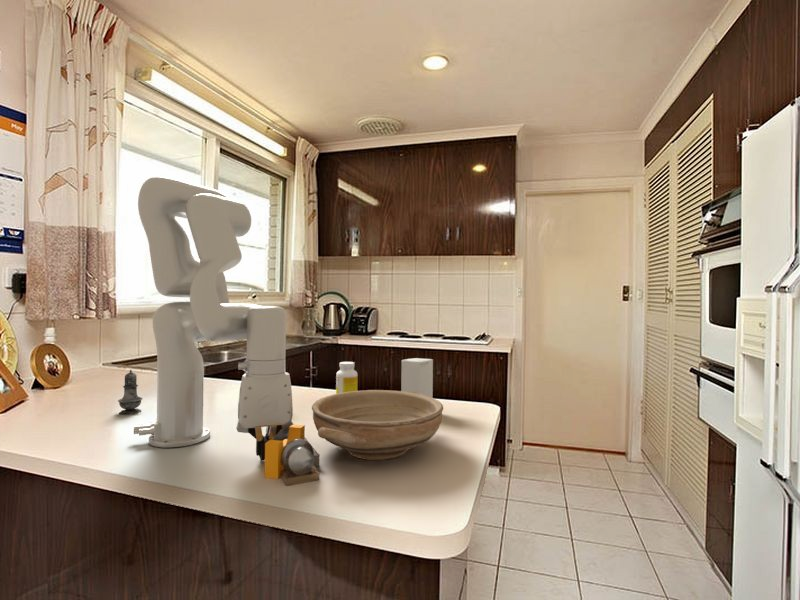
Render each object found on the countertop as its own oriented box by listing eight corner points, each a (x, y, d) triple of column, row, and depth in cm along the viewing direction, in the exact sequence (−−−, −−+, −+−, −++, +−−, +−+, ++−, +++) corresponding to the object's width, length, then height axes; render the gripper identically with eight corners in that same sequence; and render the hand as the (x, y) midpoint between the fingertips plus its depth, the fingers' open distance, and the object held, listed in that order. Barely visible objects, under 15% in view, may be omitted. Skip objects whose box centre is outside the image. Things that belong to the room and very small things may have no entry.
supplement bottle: (361, 403, 135) (362, 362, 135) (348, 407, 129) (348, 365, 129) (345, 400, 138) (345, 360, 138) (331, 404, 133) (331, 363, 133)
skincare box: (418, 418, 119) (419, 362, 119) (398, 414, 123) (399, 359, 123) (433, 411, 126) (434, 358, 126) (414, 408, 130) (415, 356, 129)
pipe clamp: (285, 454, 91) (285, 423, 91) (304, 455, 90) (304, 425, 90) (255, 477, 79) (256, 442, 79) (277, 479, 78) (278, 444, 78)
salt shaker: (112, 413, 119) (113, 370, 119) (132, 408, 125) (133, 367, 125) (127, 415, 117) (127, 372, 117) (147, 410, 123) (147, 368, 122)
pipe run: (285, 485, 75) (286, 449, 75) (263, 441, 98) (263, 413, 98) (327, 478, 79) (327, 443, 79) (295, 436, 102) (296, 409, 101)
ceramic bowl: (367, 419, 117) (368, 382, 117) (467, 435, 104) (467, 394, 104) (267, 464, 85) (268, 414, 85) (395, 498, 71) (396, 438, 71)
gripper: (227, 372, 79) (225, 471, 80) (307, 368, 86) (305, 459, 86) (224, 366, 86) (222, 457, 86) (298, 362, 93) (296, 446, 93)
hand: (264, 457), depth 86 cm, fingers closed
